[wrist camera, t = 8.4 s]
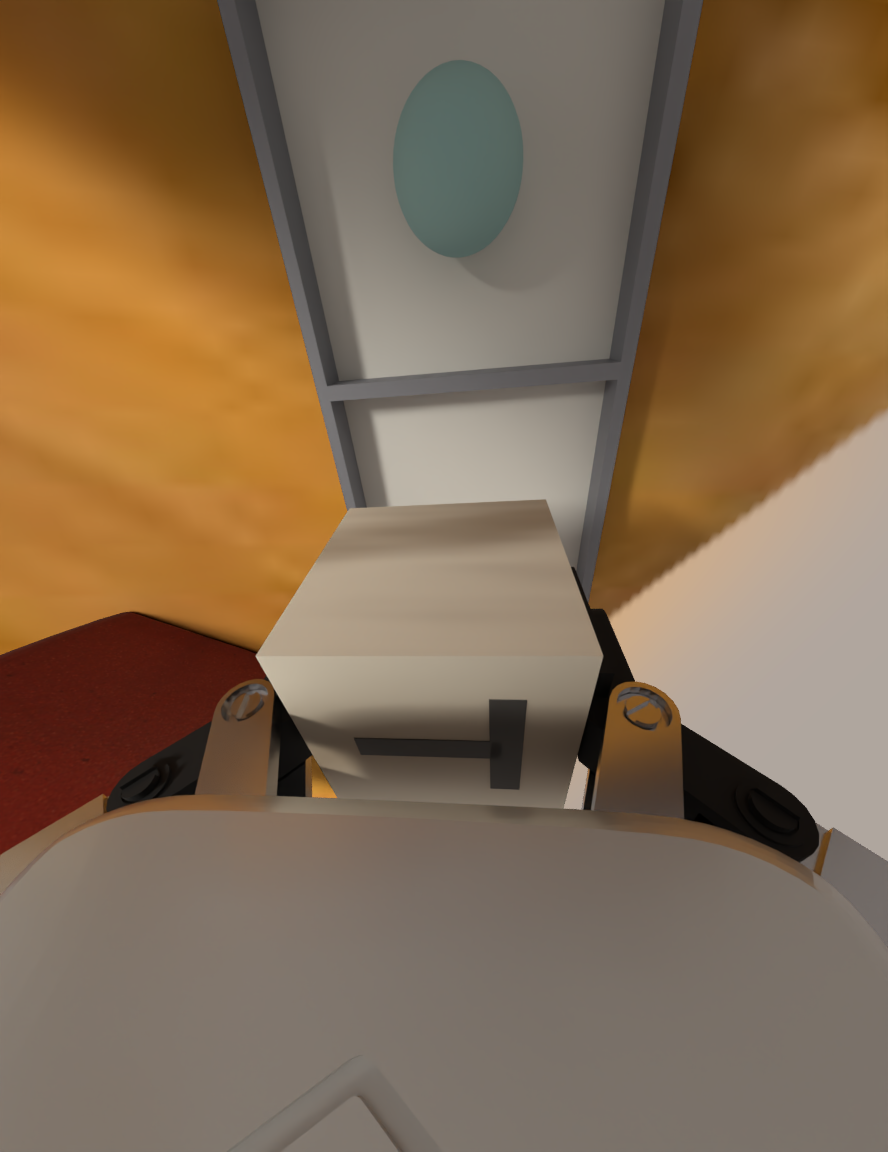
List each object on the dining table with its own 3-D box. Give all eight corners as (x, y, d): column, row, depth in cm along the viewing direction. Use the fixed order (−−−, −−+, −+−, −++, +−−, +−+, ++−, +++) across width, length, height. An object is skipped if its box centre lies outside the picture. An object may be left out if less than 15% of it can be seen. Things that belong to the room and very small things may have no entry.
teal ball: (397, 113, 12) (365, 36, 9) (520, 91, 11) (534, 1, 8) (413, 270, 14) (391, 256, 11) (516, 258, 14) (526, 239, 10)
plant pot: (65, 557, 25) (-426, 835, 12) (329, 646, 28) (181, 954, 14) (107, 702, 36) (-123, 935, 22) (294, 756, 39) (191, 992, 25)
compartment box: (227, -74, 10) (180, -145, 9) (711, -196, 9) (762, -312, 7) (379, 587, 24) (371, 606, 23) (580, 585, 23) (587, 605, 21)
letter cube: (349, 508, 11) (254, 656, 6) (546, 499, 11) (605, 656, 6) (384, 641, 15) (339, 802, 10) (533, 641, 14) (563, 812, 9)
